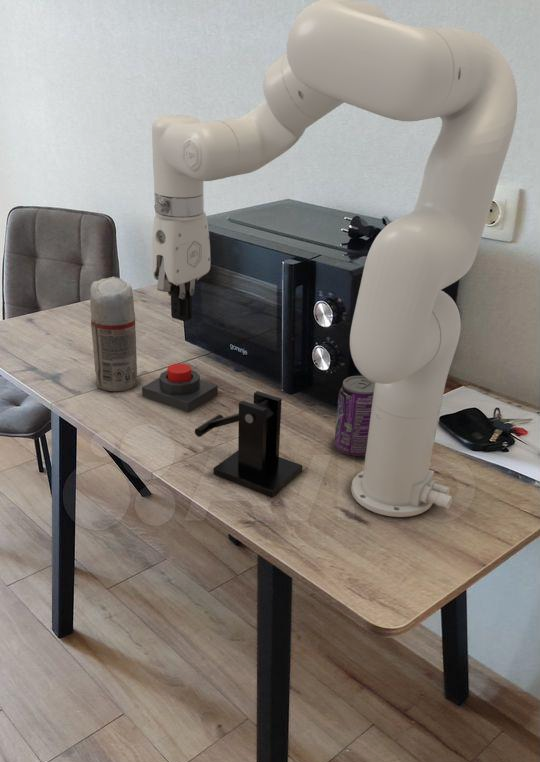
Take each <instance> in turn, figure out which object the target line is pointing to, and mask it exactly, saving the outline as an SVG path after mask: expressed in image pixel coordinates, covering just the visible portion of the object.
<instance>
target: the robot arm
mask: <svg viewBox="0 0 540 762" xmlns="http://www.w3.org/2000/svg"><path fill="white" fill-rule="evenodd" d="M262 90H263V95H264V98H265V100H263V101H262V102H260V104H259V105H257V106H256V107H255V108H253V109H251V111H249V112H247V113H246V114H245V115H243V116H241V117H239V118H238V117H237V118H227V119H219V120H212V121H204V122H201V121H200V120H199V118H196V117H194V116H190V115H189V116H188V115H183V114H182V115H181V114H165V115H160V116H157V117H156V118H155V119H154V120H153V121H152V125H151V143H152V144H151V145H152V167H153V192H154V195H153V197H154V206H153V207H154V215H155V216H154V218H153V225H152V226H153V227H152V235H151V236H152V237H151V238H152V239H151V263H152V264H151V266H152V267H151V268H152V275H153V278H154V280H157V285H156V287H157V288H156V289H157V291H159V292H163V293H167V295H168V296H169V297H170V309H171V310H170V315H171V316H170V317H171V318H172V319H174V320H178V321H181V322H187V321H188V320H192V319H193V295H194V294H195V286H196V284H197V282H198V281H199V280H200V279H201V278H202V277H204V276H205V275H207V274H208V273H209V272H210V270H211V242H210V241H211V240H210V230H209V224H208V217H207V214H206V212H205V211H204V210H205V209H204V201H205V200H204V182H212V181H217V180H223V179H227V178H231V177H235V176H242V175H247V174H250V173H253V172H256V171H258V170H260V169H261V168H263V167H265V166H267V165H268V164H269V163H271V162H272V161H274V160H275V159H277V158H279V157H280V156H281V155H283V154H285V153H286V152H287V151H289V150H290V149H291V148H292V147H294V146H295V145H296V144H297V142H298V141H299V140H300V138H301V137H302V136H303V135H304V133H305V131H306V129H308V128H309V127H310V126H312V125H313V124H314V123H316V122H317V121H319V120H320V119H322V118H323V117H325V116H326V115H328V114H330V113H331V112H332V111H334V110H335V109H336V108H338V107H339V106H341V105H343V104H344V103H345V104H347V105H349V106H350V105H351V106H353V107H355V108H358V109H361V110H364V111H366V112H369V113H372V114H375V115H378V116H380V117H383V118H386V119H390V120H393V121H399V122H418V121H425V120H431V119H436V118H440V119H441V127H440V131H439V134H438V136H437V138H436V140H435V142H434V144H433V146H432V148H431V150H430V153H429V155H428V158H427V161H426V163H425V167H424V170H423V171H424V172H423V175H422V181H421V185H420V189H419V192H418V196H417V198H416V201H415V202H416V203H415V204H414V207H413V209H412V211H411V212H410V213H409V214H406V215H403V216H401V217H398V218H396V219H394V220H392V221H391V222H390V223H388V224H387V225H385V226H384V227H383V228H382V229H381V231H380V232H379V233H378V234H377V235H376V237H375V238H374V240H373V241H372V243H371V246H370V247H369V251H368V253H367V256H366V259H365V263H364V267H363V271H362V276H361V280H360V285H359V289H358V294H357V298H356V302H355V307H354V312H353V316H352V321H351V326H350V333H349V350H350V355H351V359H352V361H353V364H354V366H355V368H356V369H357V370H358V372H359V373H360V374H361V376H364V377H366V378H367V379H369V380H370V381H373V382H375V388H374V395H373V401H372V409H371V417H370V425H369V433H368V440H367V448H366V455H364V465H363V470H361V471H360V472H358V473H357V474H355V476H354V477H353V478H352V481H351V486H350V490H351V491H350V492H351V494H352V497H353V499H354V500H355V501H356V502H357V503H358V504H359V505H360V506H362V507H363V508H365V509H367V510H368V511H370V512H372V513H375V514H378V515H382V516H386V517H391V518H407V517H414V516H418V515H420V514H423V513H425V512H427V511H428V510H429V509H430V508H431V507H432V506H433V505H434V504H435V505H436V506H438V507H441V508H445V509H449V508H450V507H451V504H452V501H453V495H450V492H451V487H449V486H446V485H443V484H439V483H436V480H434V476H435V471H434V470H432V469H430V467H431V460H432V456H433V450H434V445H435V441H436V434H437V429H438V423H439V419H440V418H439V416H440V412H441V409H442V403H443V398H444V394H445V388H446V384H447V379H448V376H449V372H450V370H451V369H450V368H451V366H452V363H453V359H454V357H455V354H456V351H457V347H458V345H459V341H460V336H461V329H462V321H461V314H460V309H459V308H458V305H457V304H456V302H455V301H454V299H453V298H452V297H451V296H450V295H449V294H448V293H446V292H445V291H444V290H443V289H445V288H448V287H449V286H451V285H452V284H455V283H456V282H458V281H459V280H460V279H462V278H463V277H464V276H465V275H467V274H468V272H469V271H470V269H471V268H472V266H473V265H474V262H475V261H476V257H477V253H478V250H479V247H480V244H481V240H482V237H483V233H484V230H485V227H486V223H487V220H488V218H489V214H490V211H491V207H492V204H493V201H494V197H495V194H496V190H497V186H498V183H499V181H500V176H501V172H502V169H503V166H504V164H505V161H506V158H507V155H508V151H509V148H510V144H511V142H512V138H513V134H514V130H515V125H516V120H517V112H518V91H517V90H518V89H517V84H516V80H515V76H514V73H513V71H512V68H511V66H510V64H509V63H508V60H507V58H506V57H505V56H504V53H502V52H501V50H500V49H499V48H498V47H496V45H494V43H492V41H490V40H489V39H487V38H486V37H484V36H483V35H481V34H479V33H476V32H474V31H470V30H467V29H465V28H464V29H463V28H454V27H417V26H413V25H408V24H406V23H405V24H404V23H400V22H397V21H395V20H391V18H390V17H389V16H388V14H387V13H386V12H385V11H384V10H383V9H382V8H380V7H378V6H377V5H375V4H373V3H370V2H367V1H361V0H317V1H314V2H313V3H312V2H311V4H309V5H307V6H306V7H305V8H304V9H303V10H301V12H300V13H299V14H298V15H297V17H296V18H295V19H294V21H293V22H292V24H291V27H290V30H289V32H288V36H287V41H286V53H284V54H283V55H282V56H281V57H280V58H278V59H276V60H275V61H274V62H273V63H272V64H270V65H269V66H268V67H267V68H266V70H265V73H264V75H263V81H262Z"/></svg>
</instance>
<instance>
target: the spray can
mask: <svg viewBox="0 0 540 762" xmlns="http://www.w3.org/2000/svg"><path fill="white" fill-rule="evenodd" d="M89 292H90V293H89V299H90V300H89V301H90V302H89V308H90V328H91V338H92V339H91V340H92V348H93V350H92V352H93V359H94V361H93V362H94V371H95V385H96V387H97V388H99V389H100V390H104V391H108V392H121V391H122V392H123V391H127V390H131V389H133V388H135V387H136V386H137V384H138V379H137V378H138V377H137V376H138V364H137V333H136V332H137V331H136V313H135V305H134V304H135V302H134V293H133V287H132V285H131V283H128V282H125V280H124V279H122V278H120V277H117V276H115V275H114V276H110V277H107V278H101V279H100V280H94V281H92V282H91V285H90V290H89Z"/></svg>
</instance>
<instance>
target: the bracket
mask: <svg viewBox="0 0 540 762" xmlns="http://www.w3.org/2000/svg"><path fill="white" fill-rule="evenodd" d="M264 400H268V401H269V404H270V406H271V408H272V411H273V413H274V414H273V415H272V416H270V417H269V418H267V408H264V407H261V406H258V405H255V404H254V403H257V402H261V401H264ZM282 402H283V401H282V398H281V397H278V396H274V395H271V394H268V393H265V392H262V391H260V390H256V391H255V392H253V403H252V402H248V401H245V400H241V401H240V402H238V413H239V421H238V431H237V432H238V434H237V436H238V438H237V439H238V441H237V443H238V445H237V451H235V452H234V453H232V454H230V455H229V456H228V457H227V458H225V459H224V460H222V461H221V462H220V463H218V464H217V465H215V466H214V467H213V475H214V476H217V477H219V478H222V479H225V480H227V481H230V482H232V483H234V484H236V485H240V486H242V487H245V488H247V489H250V490H252V491H255V492H257V493H260V494H262V495H264V496H267V497H270V498H273V497H275V495H277V494H278V493H279V492H280V491H281V490H283V489H284V488H285V487H286V486H287V485H288V484H290V483H291V482H292V481H293V480H294V479H295V478H297V476H299V475H300V474H301V473H302V472H303V464H300V463H297V462H295V461H292V460H289V459H287V458H284V457H281V456H280V442H281V441H280V440H281V439H280V438H281V420H282V419H281V418H282Z"/></svg>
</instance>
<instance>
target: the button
mask: <svg viewBox="0 0 540 762" xmlns="http://www.w3.org/2000/svg"><path fill="white" fill-rule="evenodd" d="M191 370H192V367H191V365H189V364H187V363H173V364H170V365H168V367H167V369H166V371H167V373H168V380H169V381H172V382H186V381H189V380H191Z"/></svg>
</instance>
